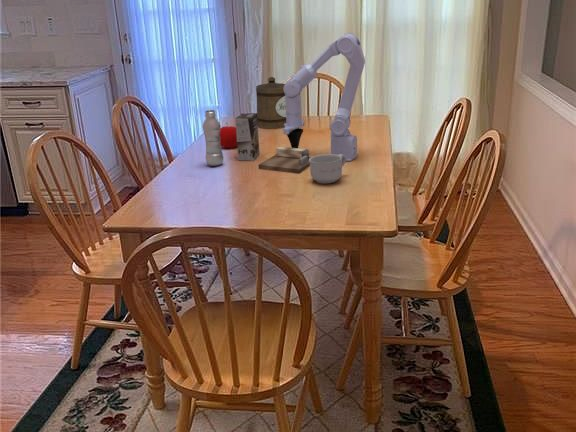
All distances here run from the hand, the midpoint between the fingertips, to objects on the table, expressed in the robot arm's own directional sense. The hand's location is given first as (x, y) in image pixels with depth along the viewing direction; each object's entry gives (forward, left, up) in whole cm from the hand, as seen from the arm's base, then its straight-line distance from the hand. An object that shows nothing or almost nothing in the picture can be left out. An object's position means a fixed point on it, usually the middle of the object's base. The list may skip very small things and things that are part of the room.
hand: (294, 148), depth 215 cm
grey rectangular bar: (-2, +6, -1) cm, 7 cm away
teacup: (-23, +21, -3) cm, 32 cm away
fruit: (+31, -3, -3) cm, 31 cm away
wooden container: (+31, -42, -3) cm, 52 cm away
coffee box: (+16, +7, -3) cm, 18 cm away
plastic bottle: (+23, +20, -3) cm, 31 cm away
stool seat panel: (-3, +11, -3) cm, 12 cm away
